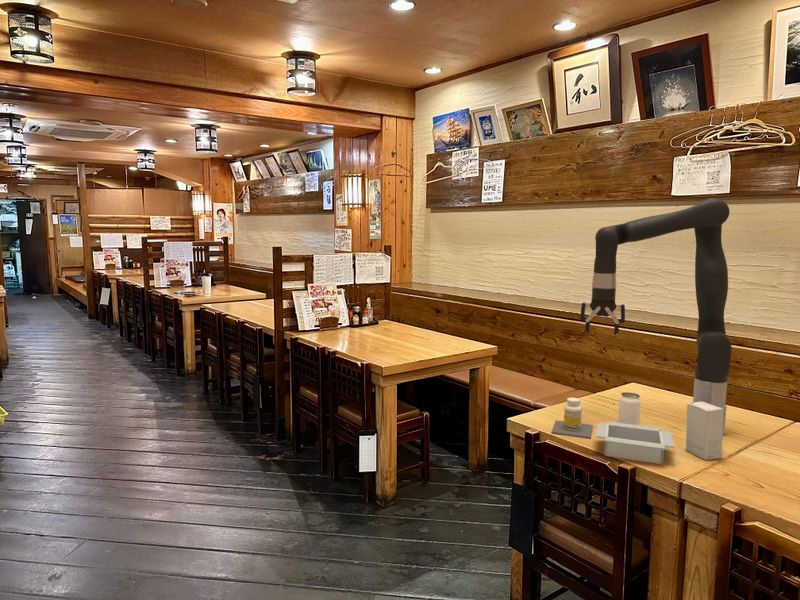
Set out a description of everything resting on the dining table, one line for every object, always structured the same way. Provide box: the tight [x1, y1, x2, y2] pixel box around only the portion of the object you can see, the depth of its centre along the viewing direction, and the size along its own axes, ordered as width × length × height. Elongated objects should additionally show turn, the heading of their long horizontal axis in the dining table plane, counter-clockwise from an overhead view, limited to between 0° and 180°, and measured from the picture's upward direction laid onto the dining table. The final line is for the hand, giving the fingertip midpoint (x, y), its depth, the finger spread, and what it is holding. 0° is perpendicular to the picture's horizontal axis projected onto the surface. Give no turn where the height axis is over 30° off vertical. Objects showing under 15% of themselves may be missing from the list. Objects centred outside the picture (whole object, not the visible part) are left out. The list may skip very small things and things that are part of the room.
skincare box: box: [685, 402, 724, 461], centre depth 162 cm, size 8×6×15 cm
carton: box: [595, 420, 675, 465], centre depth 164 cm, size 21×18×6 cm
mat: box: [550, 420, 594, 440], centre depth 182 cm, size 12×12×1 cm
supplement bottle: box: [563, 397, 583, 431], centre depth 181 cm, size 5×5×10 cm
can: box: [617, 392, 642, 425], centre depth 181 cm, size 6×6×12 cm
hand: (601, 333), depth 189 cm, fingers open, 8 cm apart
